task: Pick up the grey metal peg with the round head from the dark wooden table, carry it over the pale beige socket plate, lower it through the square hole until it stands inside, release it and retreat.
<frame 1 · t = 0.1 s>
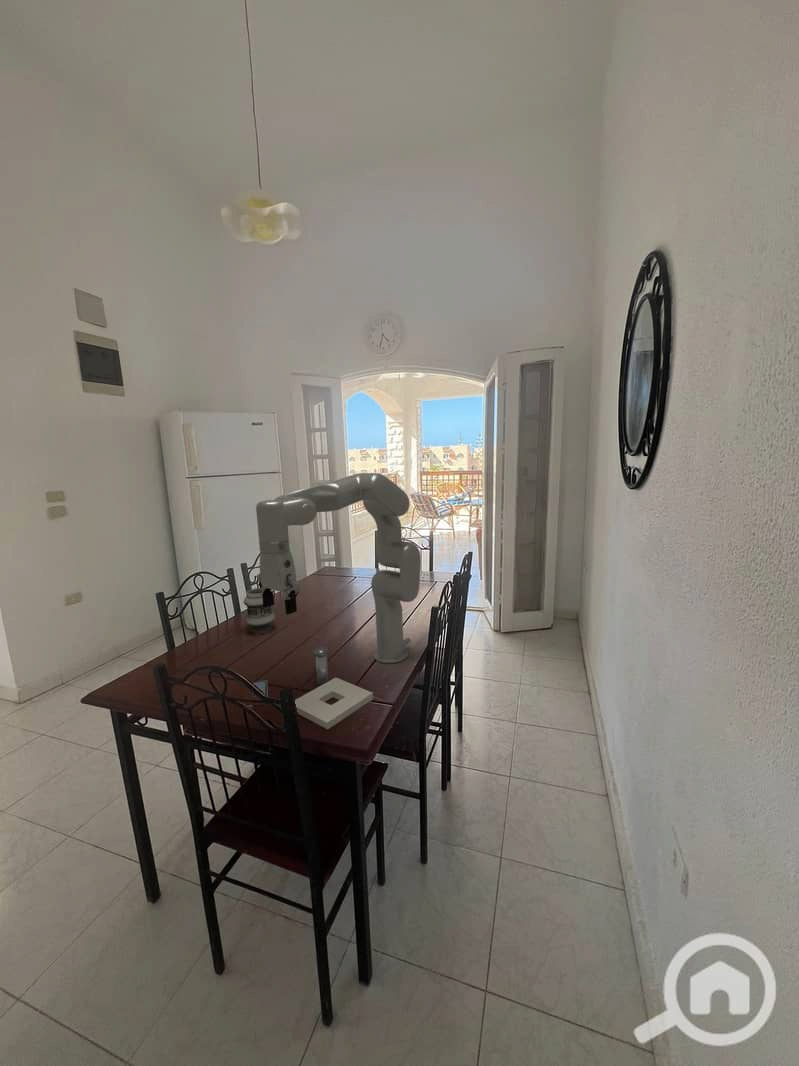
hand: (279, 609, 116), 31 cm above the table, fingers open, 9 cm apart
apothecary jar: (261, 631, 183), on the table
smartphone: (255, 695, 133), on the table
socket plate: (332, 704, 125), on the table
peg: (322, 682, 138), on the table
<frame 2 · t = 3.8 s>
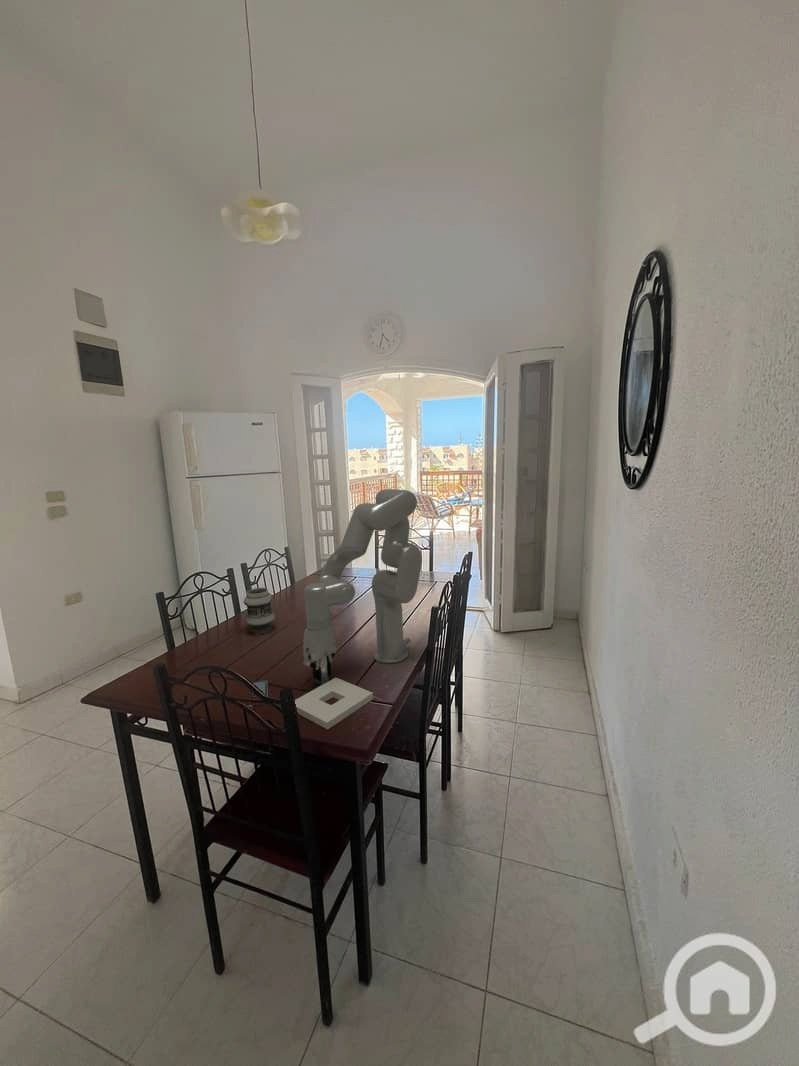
hand: (322, 676, 138), 2 cm above the table, fingers closed on peg, 3 cm apart
peg: (322, 682, 138), on the table, touching gripper
everything else where it was.
when the fingers open (4 cm above the table, at t = 9.9 s): peg drops 1 cm, resting in socket plate.
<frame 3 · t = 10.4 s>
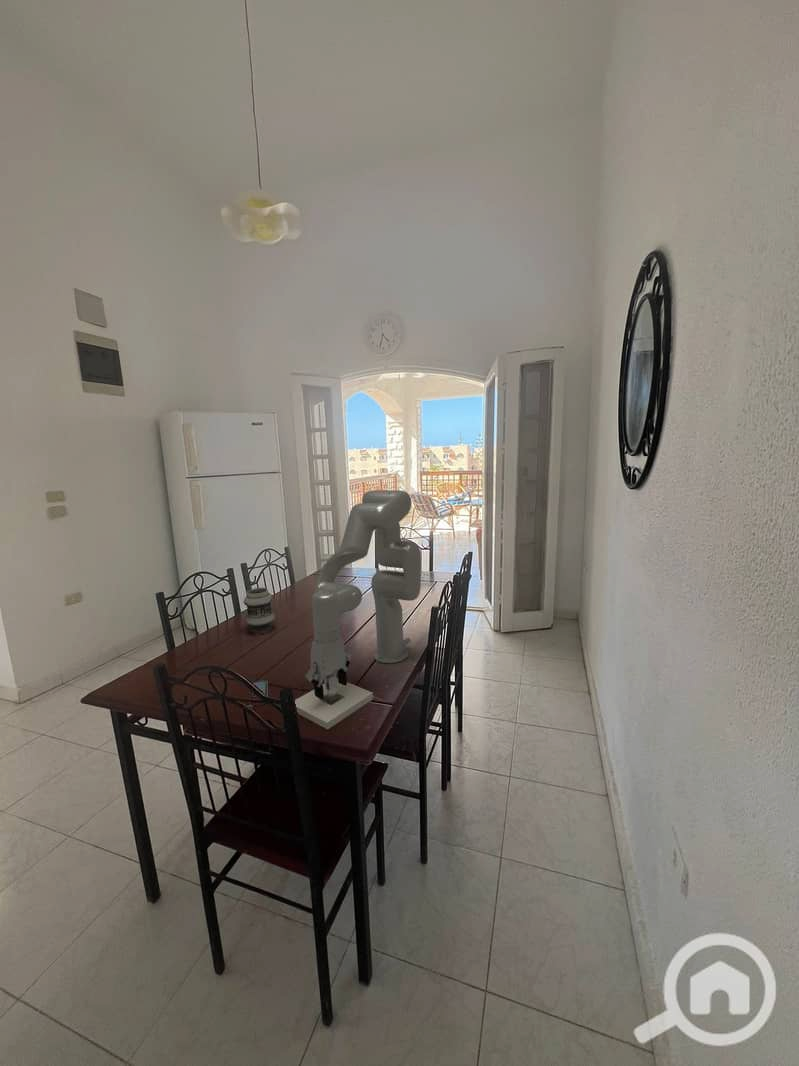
hand: (331, 690, 125), 4 cm above the table, fingers open, 8 cm apart
peg: (332, 704, 125), resting in socket plate
everything else where it was.
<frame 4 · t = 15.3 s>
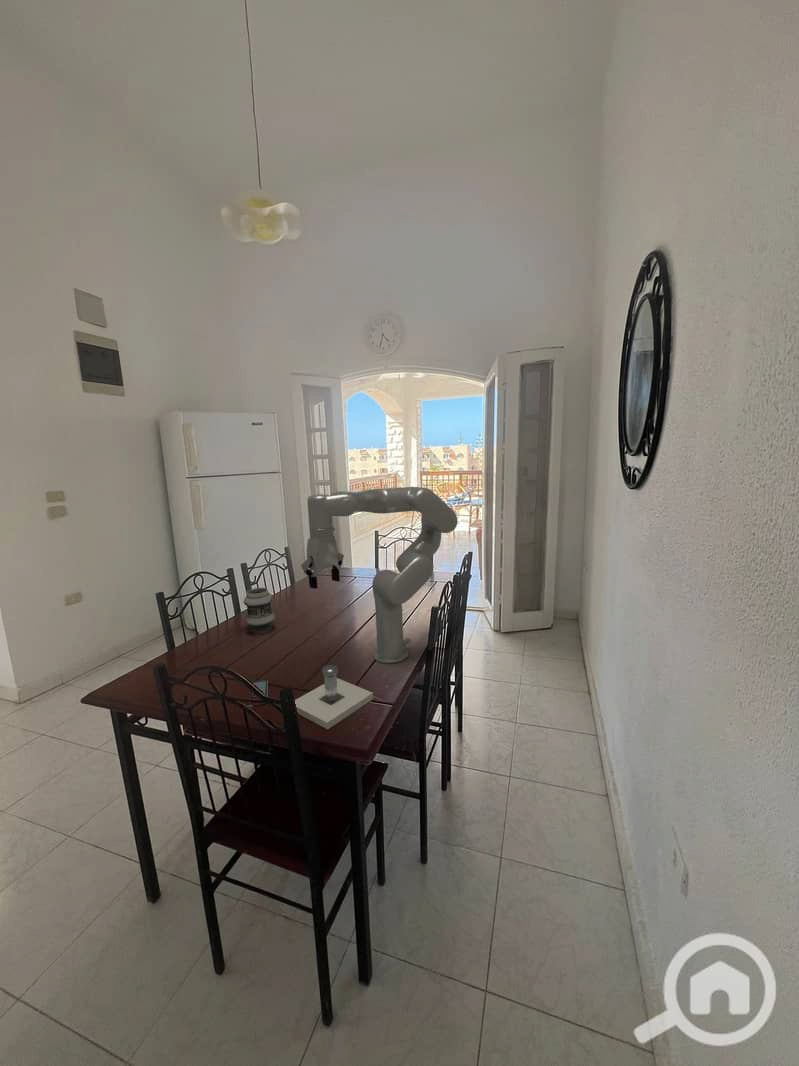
hand: (325, 584, 141), 30 cm above the table, fingers open, 9 cm apart
nothing on the table moved.
at the end: peg 0.1 cm off-centre on the socket plate, point 0.0 cm above the socket plate's base; peg tilted 0°; the gripper is holding nothing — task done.
